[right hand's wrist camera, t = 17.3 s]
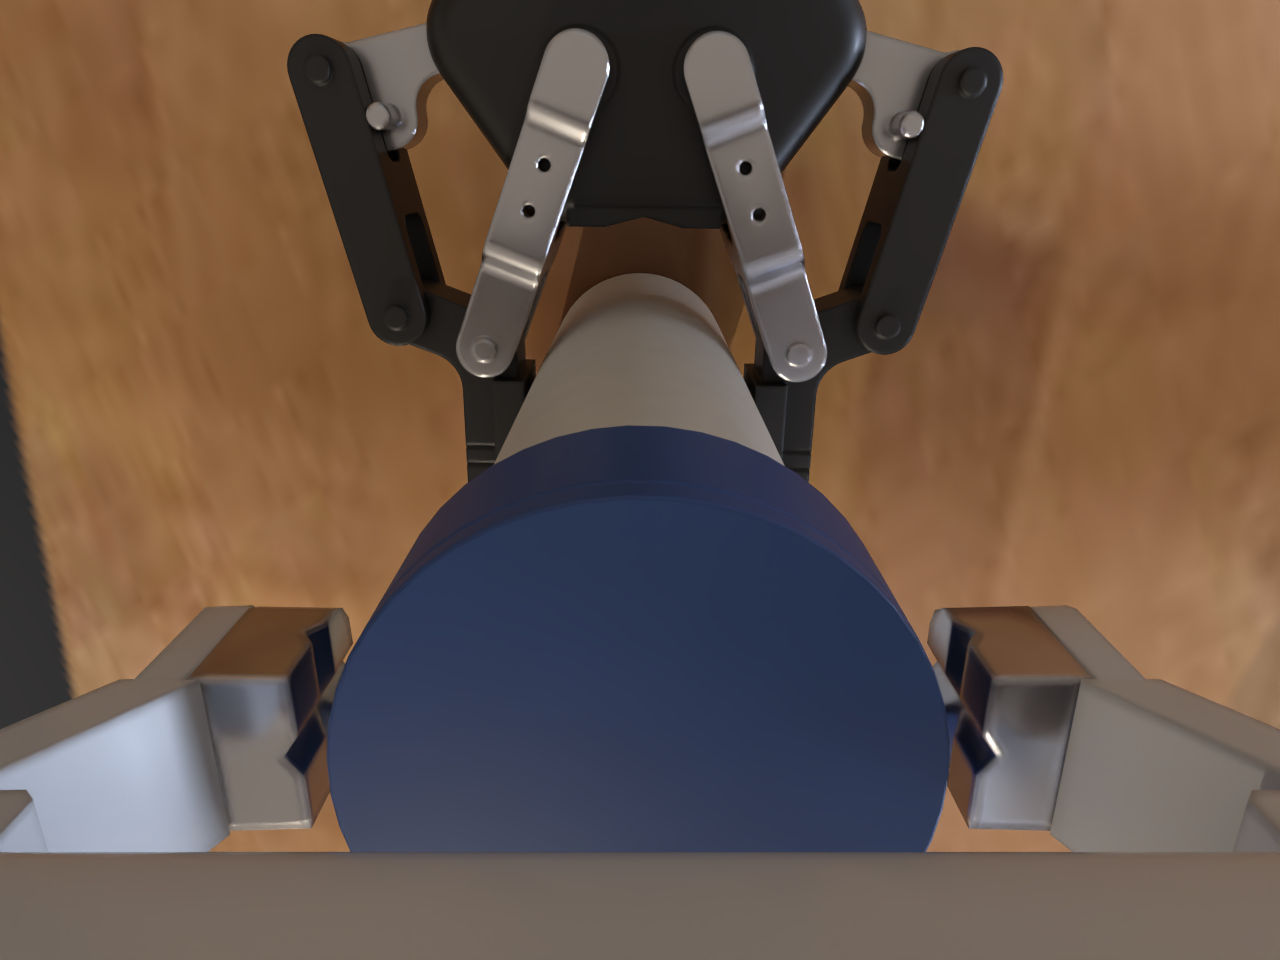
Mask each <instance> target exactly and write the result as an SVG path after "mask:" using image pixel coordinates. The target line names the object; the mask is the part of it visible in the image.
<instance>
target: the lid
mask: <svg viewBox="0 0 1280 960" xmlns="http://www.w3.org/2000/svg"><path fill="white" fill-rule="evenodd" d="M949 749H950V738H949V730H948V723H947V716H946V709H945V704H944V700H943V697H942V694H941V691H940V687H939V684H938V681H937V678H936V674H935V671H934V669H933V667H932V665H931V663H930V661H929V659H928V657H927V655H926V653H925V651H924V649H923V647H922V645H921V643H920V641H919V639H918V637H917V635H916V633H915V632H914V630H913V628H912V626H911V625H910V623H909V622H908V620H907V618H906V616H905V614H904V613H903V611H902V609H901V608H900V606H899V604H898V602H897V601H896V599H895V597H894V596H893V594H892V592H891V590H890V589H889V587H888V585H887V584H886V582H885V580H884V578H883V577H882V575H881V573H880V571H879V570H878V568H877V566H876V565H875V563H874V561H873V559H872V558H871V556H870V554H869V553H868V551H867V549H866V547H865V546H864V544H863V543H862V541H861V540H860V538H859V537H858V536H857V534H856V533H855V531H854V530H853V528H852V527H851V525H850V524H849V523H848V521H847V520H846V518H845V517H844V516H843V515H842V514H841V513H840V512H839V511H838V510H837V509H836V508H835V507H834V506H833V505H832V503H831V502H830V501H829V500H828V499H827V498H826V497H825V496H824V495H823V494H822V493H821V492H819V491H818V490H817V489H816V488H814V487H813V486H812V485H811V484H809V483H808V482H807V481H806V480H804V479H803V478H802V477H801V476H799V475H798V474H797V473H795V472H794V471H792V470H790V469H789V468H787V467H785V466H784V465H782V464H780V463H779V462H777V461H775V460H774V459H772V458H770V457H769V456H767V455H764V454H762V453H760V452H757V451H755V450H753V449H751V448H748V447H746V446H744V445H741V444H739V443H737V442H734V441H731V440H727V439H724V438H720V437H717V436H713V435H710V434H706V433H703V432H698V431H692V430H685V429H679V428H672V427H666V426H634V425H626V426H616V427H606V428H596V429H589V430H585V431H581V432H576V433H572V434H567V435H563V436H559V437H555V438H552V439H550V440H547V441H544V442H542V443H539V444H536V445H533V446H531V447H528V448H525V449H523V450H521V451H519V452H517V453H515V454H513V455H511V456H509V457H508V458H506V459H504V460H502V461H500V462H498V463H496V464H494V465H492V466H491V467H489V468H488V469H487V470H485V471H484V472H482V473H481V474H480V475H478V476H477V477H475V478H474V479H473V480H471V481H470V482H468V483H467V484H466V485H464V486H463V487H462V488H461V489H460V490H459V491H458V492H457V493H456V494H455V495H454V496H453V497H452V498H451V499H450V500H448V501H447V502H446V503H445V504H444V505H443V506H442V507H441V508H440V509H439V510H438V512H437V513H436V514H435V516H434V517H433V518H432V519H431V521H430V522H429V523H428V524H427V526H426V527H425V528H424V529H423V531H422V532H421V533H420V535H419V537H418V538H417V540H416V542H415V543H414V545H413V547H412V548H411V550H410V552H409V554H408V555H407V557H406V559H405V560H404V562H403V564H402V565H401V567H400V569H399V571H398V572H397V574H396V576H395V577H394V579H393V581H392V582H391V584H390V586H389V588H388V589H387V591H386V593H385V594H384V596H383V598H382V599H381V601H380V603H379V605H378V606H377V608H376V610H375V611H374V613H373V615H372V616H371V618H370V620H369V622H368V623H367V625H366V627H365V628H364V630H363V632H362V634H361V635H360V637H359V639H358V641H357V642H356V644H355V646H354V648H353V649H352V651H351V653H350V655H349V656H348V659H347V661H346V664H345V666H344V669H343V672H342V674H341V677H340V679H339V682H338V685H337V687H336V690H335V694H334V699H333V704H332V709H331V713H330V718H329V723H328V740H327V766H328V775H329V784H330V793H331V797H332V801H333V804H334V808H335V812H336V815H337V819H338V823H339V826H340V829H341V831H342V833H343V835H344V838H345V840H346V842H347V844H348V847H349V849H350V851H351V852H926V850H927V848H928V846H929V844H930V843H931V841H932V838H933V835H934V832H935V829H936V826H937V824H938V821H939V818H940V815H941V812H942V809H943V804H944V799H945V793H946V788H947V782H948V776H949Z"/></svg>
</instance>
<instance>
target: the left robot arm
mask: <svg viewBox="0 0 1280 960" xmlns="http://www.w3.org/2000/svg"><path fill="white" fill-rule="evenodd" d="M287 68H288V74H289V78H290V81H291V84H292V87H293V90H294V93H295V96H296V99H297V103H298V106H299V109H300V112H301V115H302V118H303V121H304V124H305V127H306V130H307V133H308V136H309V140H310V143H311V146H312V149H313V152H314V155H315V158H316V161H317V164H318V167H319V170H320V174H321V177H322V180H323V183H324V186H325V189H326V192H327V195H328V198H329V201H330V204H331V208H332V211H333V214H334V217H335V220H336V223H337V226H338V229H339V232H340V235H341V238H342V241H343V245H344V248H345V251H346V254H347V257H348V260H349V263H350V266H351V269H352V272H353V275H354V279H355V282H356V285H357V288H358V291H359V294H360V297H361V300H362V303H363V306H364V309H365V313H366V316H367V319H368V322H369V325H370V327H371V329H372V330H373V332H374V333H375V334H376V336H377V337H378V338H380V339H381V340H382V341H384V342H386V343H388V344H391V345H395V346H403V345H408V344H410V345H412V346H415V347H418V348H421V349H423V350H426V351H429V352H431V353H434V354H437V355H439V356H441V357H443V358H445V359H446V360H448V361H449V362H450V363H451V364H452V365H453V366H454V367H455V369H456V370H457V372H458V373H459V375H460V378H461V381H462V385H463V397H464V416H465V434H466V445H467V448H466V453H467V463H468V465H467V471H468V482H470V481H471V480H473V479H474V478H475V477H477V476H478V475H480V474H481V473H482V472H484V471H485V470H487V469H488V468H489V467H491V466H492V465H494V463H495V461H496V459H497V457H498V455H499V453H500V451H501V449H502V446H503V444H504V442H505V440H506V438H507V436H508V434H509V432H510V430H511V428H512V426H513V423H514V421H515V419H516V417H517V415H518V413H519V411H520V409H521V407H522V405H523V403H524V401H525V398H526V396H527V394H528V392H529V390H530V388H531V386H532V384H533V382H534V380H535V378H536V368H535V360H526V359H525V339H526V337H527V334H528V331H529V328H530V325H531V322H532V320H533V317H534V314H535V311H536V308H537V305H538V302H539V300H540V297H541V294H542V291H543V288H544V285H545V282H546V280H547V277H548V274H549V271H550V269H551V266H552V264H553V262H554V259H555V257H556V254H557V251H558V249H559V246H560V243H561V240H562V237H563V235H564V232H565V229H566V226H580V227H606V226H610V225H614V224H618V223H621V222H625V221H629V220H633V219H637V218H641V217H647V218H650V219H654V220H657V221H661V222H664V223H667V224H671V225H674V226H677V227H681V228H707V229H720V231H721V234H722V237H723V240H724V244H725V247H726V250H727V253H728V256H729V259H730V262H731V264H732V267H733V269H734V272H735V274H736V277H737V280H738V284H739V287H740V290H741V293H742V296H743V299H744V303H745V306H746V309H747V312H748V315H749V318H750V322H751V325H752V328H753V331H754V334H755V338H756V344H755V361H754V364H744V381H745V383H746V385H747V387H748V390H749V392H750V394H751V396H752V398H753V400H754V402H755V404H756V406H757V409H758V411H759V413H760V415H761V417H762V419H763V421H764V423H765V426H766V428H767V430H768V432H769V434H770V436H771V438H772V440H773V442H774V445H775V447H776V449H777V451H778V453H779V455H780V457H781V459H782V461H783V464H784V466H785V467H787V468H789V469H790V470H792V471H794V472H795V473H797V474H798V475H799V476H801V477H802V478H803V479H804V480H806V481H807V482H808V483H809V468H810V460H811V448H812V437H813V425H814V413H815V401H816V392H817V388H818V385H819V383H820V381H821V379H822V377H823V376H824V375H825V373H826V372H827V371H828V370H829V369H831V368H832V367H833V366H835V365H837V364H839V363H841V362H843V361H846V360H849V359H852V358H855V357H858V356H861V355H864V354H867V353H870V352H873V353H876V354H881V355H887V354H892V353H895V352H897V351H899V350H901V349H902V348H903V347H905V346H906V345H907V344H908V343H909V341H910V340H911V338H912V336H913V334H914V332H915V329H916V326H917V323H918V320H919V318H920V315H921V312H922V309H923V307H924V304H925V301H926V298H927V295H928V293H929V290H930V287H931V284H932V281H933V279H934V276H935V273H936V270H937V267H938V265H939V262H940V259H941V256H942V254H943V251H944V248H945V245H946V242H947V240H948V237H949V234H950V231H951V228H952V226H953V223H954V220H955V217H956V214H957V212H958V209H959V206H960V203H961V201H962V198H963V195H964V192H965V189H966V187H967V184H968V181H969V178H970V175H971V173H972V170H973V167H974V164H975V161H976V159H977V156H978V153H979V150H980V148H981V145H982V142H983V139H984V136H985V134H986V131H987V128H988V125H989V122H990V120H991V117H992V114H993V111H994V108H995V106H996V103H997V100H998V97H999V94H1000V92H1001V88H1002V85H1003V71H1002V67H1001V64H1000V62H999V60H998V58H997V57H996V56H995V55H994V54H993V53H992V52H990V51H988V50H987V49H984V48H980V47H970V48H966V49H963V50H956V51H953V52H949V53H944V52H940V51H936V50H933V49H929V48H926V47H922V46H919V45H915V44H912V43H908V42H905V41H901V40H898V39H894V38H891V37H887V36H884V35H880V34H877V33H873V32H870V31H867V29H866V21H865V16H864V13H863V10H862V7H861V5H860V3H859V1H858V0H432V2H431V5H430V8H429V11H428V16H427V23H425V24H421V25H417V26H413V27H409V28H405V29H401V30H397V31H393V32H389V33H385V34H381V35H377V36H373V37H369V38H365V39H361V40H357V41H352V42H348V43H344V42H340V41H338V40H335V39H333V38H330V37H328V36H325V35H321V34H310V35H306V36H304V37H302V38H300V39H299V40H298V41H297V42H296V43H295V44H294V45H293V47H292V48H291V50H290V52H289V56H288V61H287ZM443 79H444V80H445V81H446V83H447V84H448V85H449V87H450V88H451V90H452V91H453V92H454V94H455V95H456V97H457V98H458V99H459V101H460V102H461V104H462V105H463V107H464V108H465V109H466V111H467V112H468V114H469V115H470V116H471V118H472V119H473V121H474V122H475V123H476V125H477V126H478V128H479V129H480V130H481V132H482V133H483V135H484V136H485V137H486V139H487V140H488V142H489V143H490V145H491V146H492V147H493V149H494V150H495V152H496V153H497V154H498V156H499V157H500V159H501V160H502V161H503V163H504V164H505V166H506V167H507V168H508V173H507V176H506V179H505V182H504V186H503V189H502V192H501V195H500V198H499V201H498V204H497V207H496V210H495V213H494V217H493V220H492V223H491V226H490V229H489V232H488V235H487V238H486V242H485V245H484V249H483V254H482V263H481V267H480V270H479V274H478V277H477V280H476V283H475V286H474V289H473V292H472V295H471V294H468V293H465V292H463V291H460V290H457V289H455V288H452V287H449V286H447V285H446V284H445V280H444V277H443V273H442V270H441V266H440V263H439V259H438V256H437V253H436V249H435V246H434V242H433V239H432V235H431V232H430V228H429V225H428V221H427V218H426V215H425V211H424V208H423V204H422V201H421V197H420V194H419V190H418V187H417V183H416V180H415V177H414V173H413V170H412V166H411V163H410V159H409V156H408V152H407V150H408V149H411V148H413V147H415V146H416V145H418V144H419V143H420V142H421V141H422V139H423V138H424V136H425V134H426V131H427V126H428V119H427V111H426V104H427V98H428V96H429V93H430V91H431V89H432V88H433V87H434V86H435V85H436V84H437V83H438V82H439V81H441V80H443ZM847 86H848V87H850V88H852V89H853V90H854V91H855V92H856V93H857V94H858V96H859V97H860V99H861V102H862V105H863V110H864V117H863V123H862V137H863V141H864V143H865V145H866V147H867V148H868V149H869V150H870V151H871V152H872V153H873V154H875V155H876V156H879V157H881V160H880V163H879V166H878V170H877V173H876V176H875V179H874V182H873V185H872V188H871V191H870V194H869V197H868V200H867V204H866V207H865V210H864V213H863V216H862V219H861V222H860V225H859V228H858V231H857V234H856V238H855V241H854V244H853V247H852V250H851V253H850V256H849V259H848V262H847V265H846V269H845V272H844V275H843V278H842V281H841V284H840V287H839V290H838V292H835V293H832V294H829V295H826V296H823V297H820V298H817V299H814V300H813V297H812V293H811V290H810V287H809V283H808V280H807V276H806V272H805V267H804V255H803V250H802V246H801V243H800V239H799V236H798V232H797V229H796V225H795V222H794V218H793V215H792V211H791V208H790V204H789V201H788V197H787V194H786V190H785V187H784V183H783V180H782V176H781V173H782V171H783V170H784V169H785V167H786V166H787V165H788V164H789V162H790V161H791V160H792V158H793V157H794V156H795V154H796V153H797V152H798V150H799V149H800V148H801V146H802V145H803V144H804V142H805V141H806V140H807V138H808V137H809V136H810V135H811V133H812V132H813V131H814V129H815V128H816V127H817V125H818V124H819V123H820V121H821V120H822V119H823V117H824V116H825V115H826V113H827V112H828V111H829V109H830V108H831V107H832V106H833V104H834V103H835V102H836V100H837V99H838V98H839V96H840V95H841V94H842V92H843V91H844V90H845V88H846V87H847Z"/></svg>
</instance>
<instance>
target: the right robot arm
mask: <svg viewBox="0 0 1280 960" xmlns="http://www.w3.org/2000/svg"><path fill="white" fill-rule="evenodd" d="M352 644H353V641H352V635H351V628H350V622H349V617H348V616H347V614H346V613H345V611H344V610H343V608H312V607H254V606H252V605H249V606H218V607H205V608H204V609H203V610H202V611H201V612H200V613H199V614H198V615H197V616H196V617H195V618H194V619H193V620H192V621H191V622H190V623H189V625H188V626H187V627H186V628H185V629H184V630H183V631H182V632H181V633H180V634H179V635H178V636H177V637H176V638H175V639H174V640H173V641H172V642H171V643H170V644H169V645H168V646H167V647H166V648H165V649H164V650H163V651H162V652H161V653H160V654H159V655H158V656H157V657H156V658H155V659H154V660H153V661H152V662H151V663H150V664H149V665H148V666H147V667H146V668H145V669H144V670H143V671H142V672H141V673H140V674H139V675H138V676H137V677H136V678H135V679H122V680H117V681H115V682H112V683H110V684H108V685H105V686H103V687H101V688H98V689H96V690H93V691H91V692H89V693H86V694H84V695H81V696H79V697H77V698H74V699H72V700H69V701H67V702H65V703H62V704H60V705H58V706H55V707H53V708H51V709H48V710H46V711H43V712H41V713H38V714H36V715H34V716H31V717H29V718H26V719H24V720H22V721H19V722H17V723H15V724H12V725H10V726H7V727H5V728H3V729H0V960H1280V729H1277V728H1275V727H1272V726H1270V725H1268V724H1265V723H1263V722H1261V721H1258V720H1256V719H1253V718H1251V717H1249V716H1246V715H1244V714H1241V713H1239V712H1237V711H1234V710H1232V709H1230V708H1227V707H1225V706H1222V705H1220V704H1218V703H1215V702H1213V701H1211V700H1208V699H1206V698H1203V697H1201V696H1199V695H1196V694H1194V693H1191V692H1189V691H1187V690H1184V689H1182V688H1180V687H1177V686H1175V685H1172V684H1170V683H1168V682H1165V681H1163V680H1159V679H1145V678H1144V677H1143V676H1142V675H1141V674H1140V673H1139V672H1138V671H1137V670H1136V669H1135V668H1134V667H1133V666H1132V665H1131V664H1130V663H1129V662H1128V661H1127V660H1126V659H1125V658H1124V657H1123V656H1122V655H1121V654H1120V653H1119V652H1118V651H1117V650H1116V649H1115V648H1114V647H1113V645H1112V644H1111V643H1110V642H1109V641H1108V640H1107V639H1106V638H1105V637H1104V636H1103V635H1102V634H1101V633H1100V632H1099V631H1098V630H1097V629H1096V628H1095V627H1094V626H1093V625H1092V624H1091V623H1090V622H1089V621H1088V620H1087V619H1086V618H1085V617H1084V616H1083V615H1082V614H1081V613H1080V612H1079V611H1078V610H1077V609H1076V608H1073V607H1070V606H1066V605H1061V606H1039V607H1029V606H1011V607H969V608H942V609H938V610H935V611H934V614H933V617H932V619H931V622H930V627H929V634H928V641H927V644H928V645H929V647H930V649H931V651H932V652H933V654H934V656H935V658H936V659H937V662H936V663H935V664H934V665H933V669H934V671H935V674H936V678H937V681H938V684H939V687H940V691H941V694H942V697H943V700H944V704H945V709H946V716H947V723H948V730H949V738H950V749H949V776H948V783H947V786H948V788H949V790H950V792H951V794H952V796H953V798H954V800H955V802H956V804H957V806H958V808H959V810H960V812H961V814H962V816H963V818H964V820H965V822H966V824H967V826H968V828H974V829H1011V830H1048V831H1050V834H1051V835H1052V836H1053V837H1054V838H1056V839H1057V840H1058V841H1060V842H1061V843H1062V844H1063V845H1065V846H1066V847H1067V848H1068V849H1070V850H1071V851H1072V852H208V851H209V850H211V849H212V848H213V847H215V846H216V845H217V844H218V843H220V842H221V841H222V840H224V839H225V838H226V837H227V836H229V835H230V832H229V831H232V830H267V829H303V828H312V826H313V824H314V822H315V820H316V818H317V816H318V814H319V812H320V810H321V808H322V806H323V804H324V802H325V800H326V798H327V796H328V794H329V792H330V784H329V775H328V766H327V740H328V723H329V718H330V713H331V709H332V704H333V699H334V694H335V690H336V687H337V685H338V682H339V679H340V677H341V674H342V672H343V669H344V666H345V663H344V662H343V659H344V658H345V656H346V654H347V653H348V651H349V649H350V647H351V646H352Z"/></svg>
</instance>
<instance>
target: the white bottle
mask: <svg viewBox="0 0 1280 960" xmlns="http://www.w3.org/2000/svg"><path fill="white" fill-rule="evenodd" d="M626 425H634V426H666V427H672V428H679V429H685V430H692V431H698V432H703V433H706V434H710V435H713V436H717V437H720V438H724V439H727V440H731V441H734V442H737V443H739V444H741V445H744V446H746V447H748V448H751V449H753V450H755V451H757V452H760V453H762V454H764V455H767V456H769V457H770V458H772V459H774V460H775V461H777V462H779V463H780V464H782V465H784V464H783V461H782V459H781V457H780V455H779V453H778V451H777V449H776V447H775V445H774V442H773V440H772V438H771V436H770V434H769V432H768V430H767V428H766V426H765V423H764V421H763V419H762V417H761V415H760V413H759V411H758V409H757V406H756V404H755V402H754V400H753V398H752V396H751V394H750V392H749V390H748V387H747V385H746V383H745V381H744V379H743V377H742V375H741V373H740V371H739V368H738V366H737V364H736V362H735V360H734V358H733V356H732V354H731V351H730V349H729V347H728V345H727V343H726V341H725V339H724V337H723V335H722V332H721V330H720V328H719V326H718V324H717V322H716V320H715V318H714V316H713V314H712V313H711V311H710V310H709V308H708V307H707V305H706V304H705V303H704V302H703V301H702V300H701V299H700V298H699V297H698V296H697V295H696V294H695V293H694V292H692V291H691V290H690V289H688V288H687V287H685V286H684V285H682V284H681V283H678V282H676V281H674V280H672V279H669V278H666V277H663V276H660V275H654V274H648V273H632V274H624V275H620V276H616V277H612V278H610V279H607V280H605V281H602V282H600V283H599V284H597V285H595V286H593V287H592V288H591V289H589V290H588V291H586V292H585V293H584V294H583V295H582V296H581V297H580V298H579V299H578V300H577V301H576V302H575V303H574V304H573V306H572V307H571V308H570V309H569V311H568V313H567V314H566V316H565V318H564V319H563V321H562V323H561V326H560V328H559V330H558V332H557V334H556V336H555V338H554V340H553V342H552V344H551V346H550V348H549V351H548V353H547V355H546V357H545V359H544V361H543V363H542V365H541V367H540V369H539V371H538V373H537V376H536V378H535V380H534V382H533V384H532V386H531V388H530V390H529V392H528V394H527V396H526V398H525V401H524V403H523V405H522V407H521V409H520V411H519V413H518V415H517V417H516V419H515V421H514V423H513V426H512V428H511V430H510V432H509V434H508V436H507V438H506V440H505V442H504V444H503V446H502V449H501V451H500V453H499V455H498V457H497V459H496V461H495V463H494V464H496V463H498V462H500V461H502V460H504V459H506V458H508V457H509V456H511V455H513V454H515V453H517V452H519V451H521V450H523V449H525V448H528V447H531V446H533V445H536V444H539V443H542V442H544V441H547V440H550V439H552V438H555V437H559V436H563V435H567V434H572V433H576V432H581V431H585V430H589V429H596V428H606V427H616V426H626Z"/></svg>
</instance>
